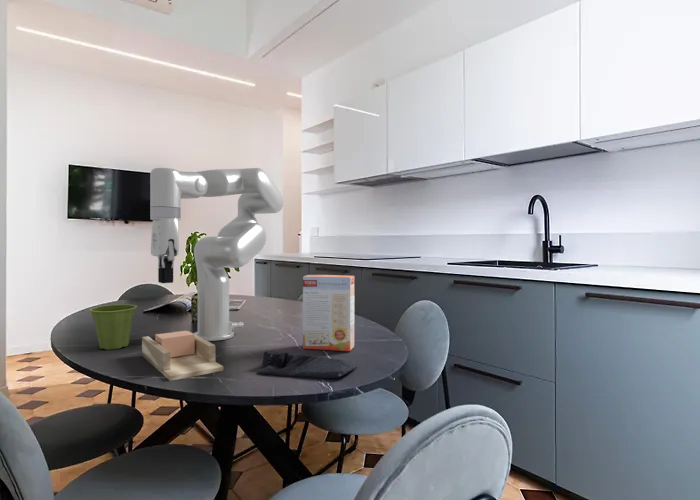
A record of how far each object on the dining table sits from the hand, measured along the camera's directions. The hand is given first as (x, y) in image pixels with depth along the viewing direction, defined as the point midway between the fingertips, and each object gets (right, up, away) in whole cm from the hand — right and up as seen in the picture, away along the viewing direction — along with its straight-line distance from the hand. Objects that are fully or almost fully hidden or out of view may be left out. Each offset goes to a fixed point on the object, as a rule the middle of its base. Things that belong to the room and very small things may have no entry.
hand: (165, 282), depth 115 cm
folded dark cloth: (+40, -21, -13) cm, 47 cm away
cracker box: (+44, -20, +6) cm, 48 cm away
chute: (+7, -19, -9) cm, 23 cm away
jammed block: (+5, -18, -6) cm, 20 cm away
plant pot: (-17, -19, +6) cm, 26 cm away
